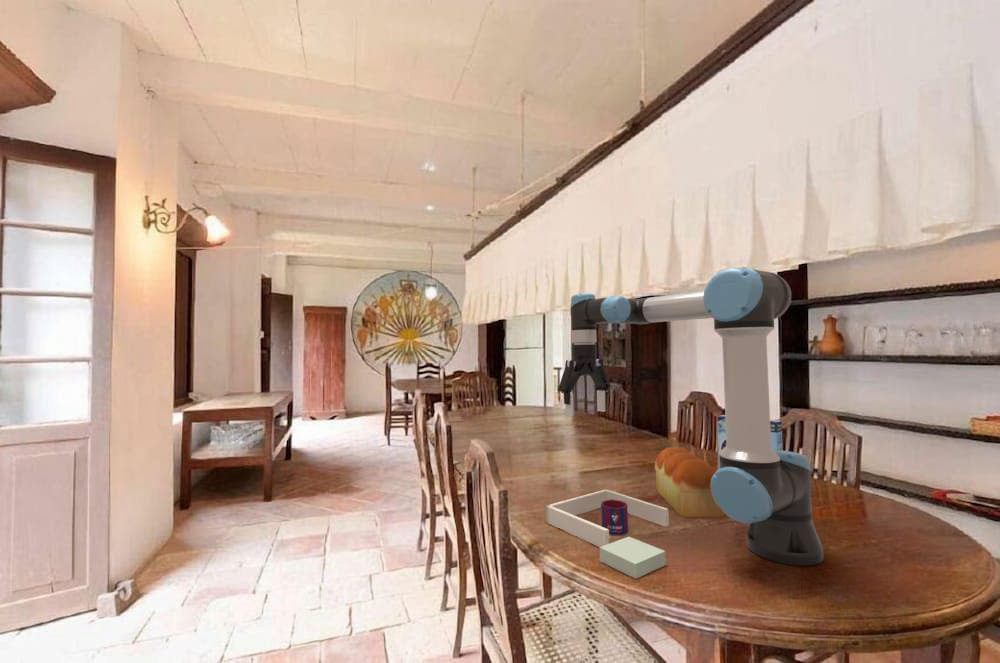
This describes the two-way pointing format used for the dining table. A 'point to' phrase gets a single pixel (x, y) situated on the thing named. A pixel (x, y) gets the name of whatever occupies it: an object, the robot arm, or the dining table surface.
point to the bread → (686, 483)
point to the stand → (632, 557)
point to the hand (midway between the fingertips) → (585, 413)
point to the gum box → (774, 428)
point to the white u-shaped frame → (588, 531)
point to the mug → (615, 516)
